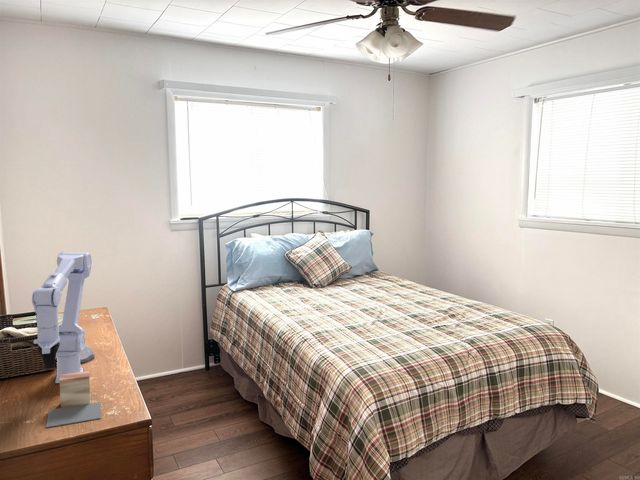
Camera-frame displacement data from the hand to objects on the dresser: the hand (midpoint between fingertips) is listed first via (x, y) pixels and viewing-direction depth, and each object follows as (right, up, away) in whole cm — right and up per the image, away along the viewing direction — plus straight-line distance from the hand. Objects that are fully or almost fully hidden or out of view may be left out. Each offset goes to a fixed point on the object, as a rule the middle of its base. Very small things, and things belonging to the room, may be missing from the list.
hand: (50, 367), depth 148 cm
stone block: (-8, -6, +31) cm, 32 cm away
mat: (+11, -12, -7) cm, 18 cm away
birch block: (+8, -11, -1) cm, 14 cm away
